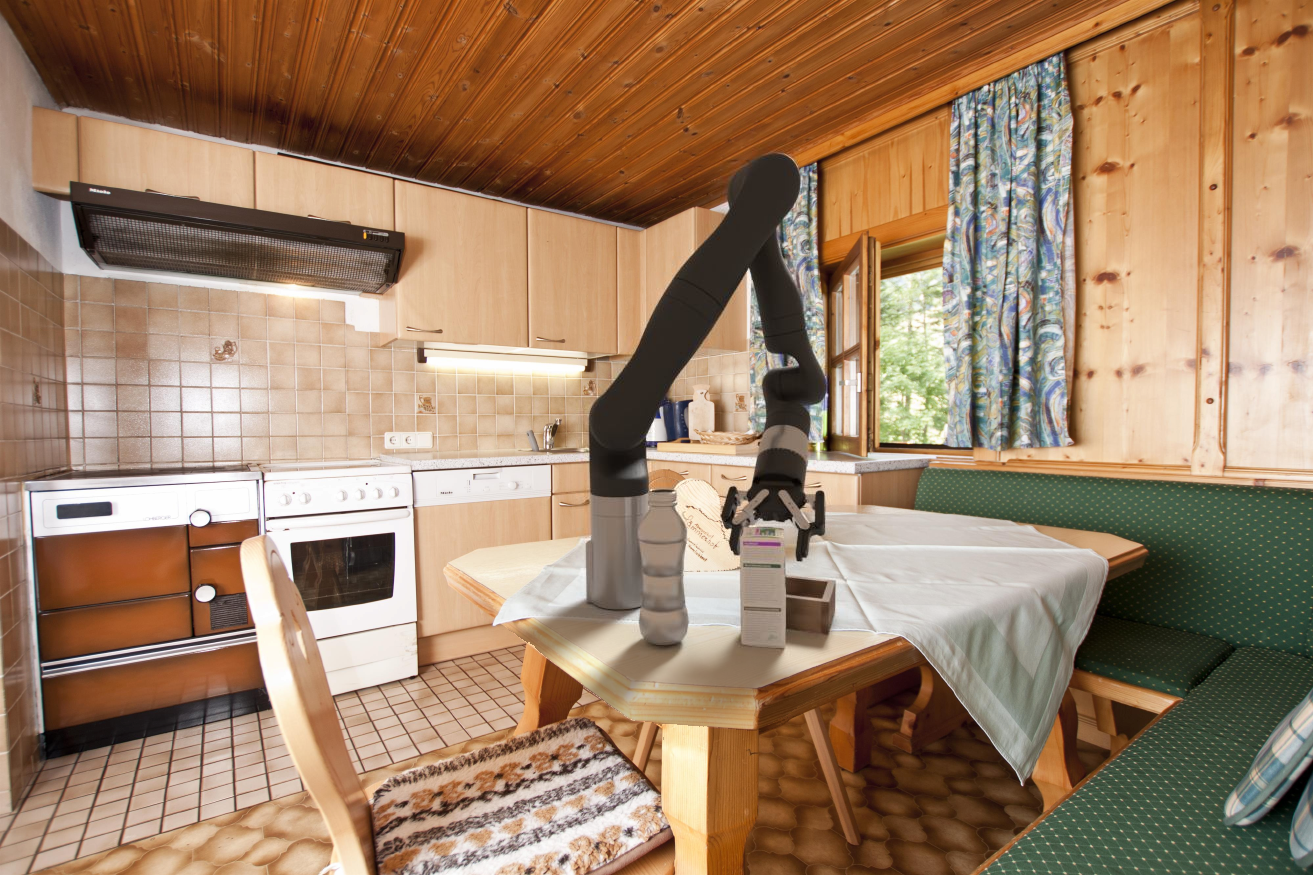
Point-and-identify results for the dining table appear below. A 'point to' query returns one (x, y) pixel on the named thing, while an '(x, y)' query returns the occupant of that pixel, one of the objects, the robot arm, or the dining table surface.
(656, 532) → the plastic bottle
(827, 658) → the dining table surface
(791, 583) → the walnut sleeve
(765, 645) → the syrup box
